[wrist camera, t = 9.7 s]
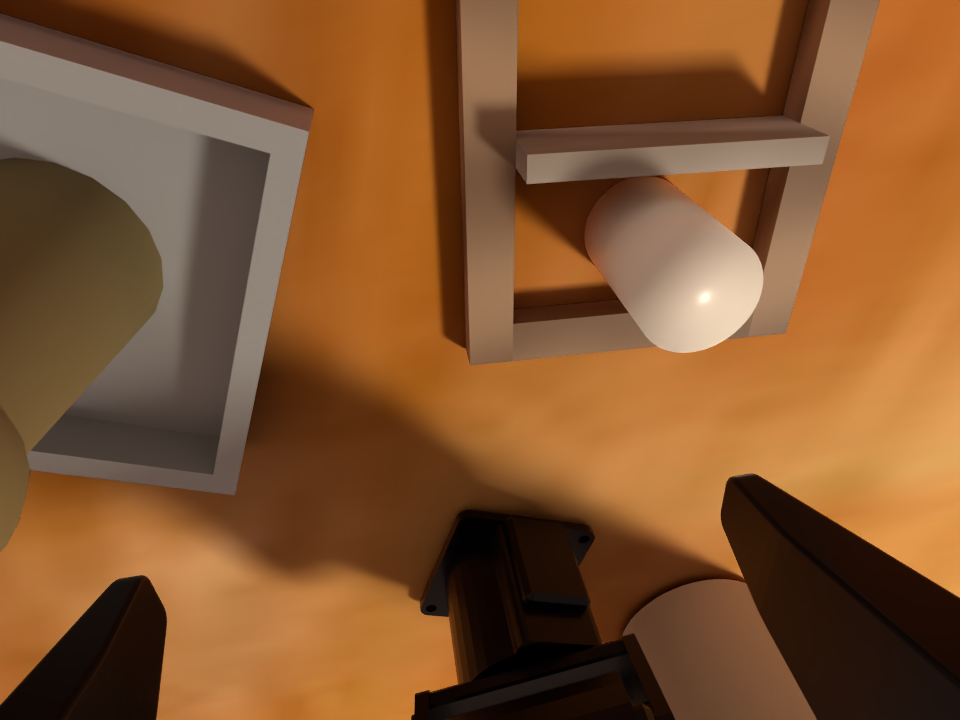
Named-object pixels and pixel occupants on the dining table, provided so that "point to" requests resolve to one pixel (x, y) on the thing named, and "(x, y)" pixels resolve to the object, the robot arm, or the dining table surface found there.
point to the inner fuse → (672, 264)
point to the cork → (61, 303)
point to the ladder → (633, 153)
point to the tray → (164, 245)
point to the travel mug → (716, 655)
